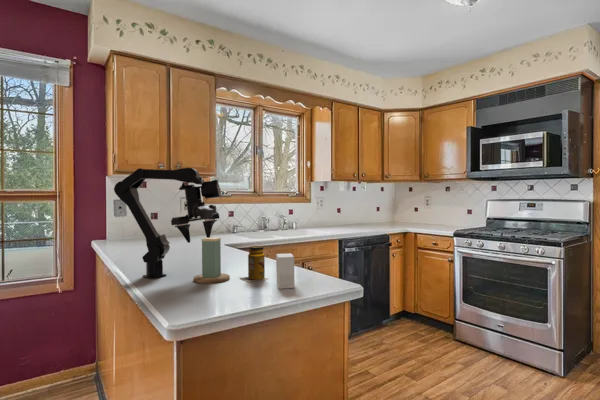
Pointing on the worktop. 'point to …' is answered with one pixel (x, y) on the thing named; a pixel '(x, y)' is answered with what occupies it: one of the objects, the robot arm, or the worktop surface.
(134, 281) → the worktop surface
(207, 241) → the tea tin
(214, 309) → the worktop surface
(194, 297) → the worktop surface
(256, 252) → the condiment
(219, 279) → the disc
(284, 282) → the small box
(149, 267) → the robot arm
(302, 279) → the worktop surface
